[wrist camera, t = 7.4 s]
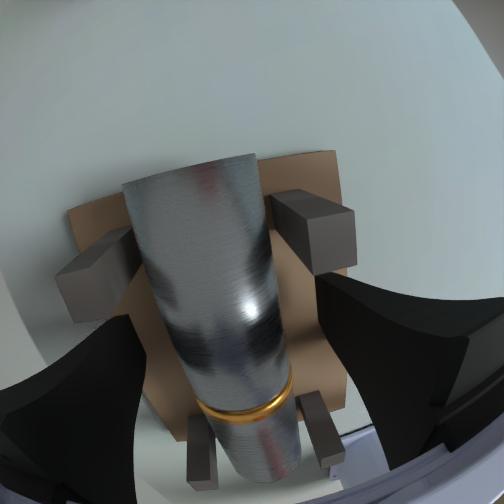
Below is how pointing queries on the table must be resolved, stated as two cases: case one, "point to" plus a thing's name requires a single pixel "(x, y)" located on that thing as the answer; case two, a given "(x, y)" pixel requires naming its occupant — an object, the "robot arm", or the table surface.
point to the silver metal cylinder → (222, 305)
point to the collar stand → (290, 290)
